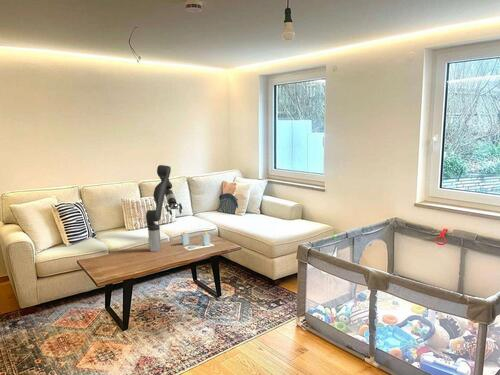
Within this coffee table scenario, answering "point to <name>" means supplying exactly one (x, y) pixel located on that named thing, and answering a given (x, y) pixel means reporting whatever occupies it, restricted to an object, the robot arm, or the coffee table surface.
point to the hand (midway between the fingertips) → (176, 213)
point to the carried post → (185, 239)
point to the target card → (197, 246)
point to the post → (206, 239)
